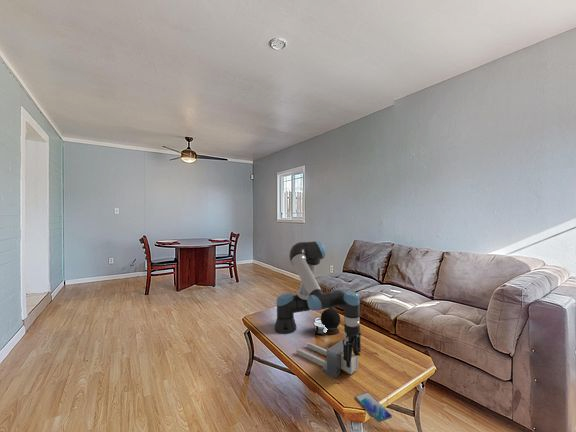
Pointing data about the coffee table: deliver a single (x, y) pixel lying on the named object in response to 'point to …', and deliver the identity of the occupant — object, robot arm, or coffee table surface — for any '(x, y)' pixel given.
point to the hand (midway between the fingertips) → (352, 370)
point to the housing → (334, 360)
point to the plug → (343, 363)
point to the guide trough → (312, 357)
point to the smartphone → (373, 407)
